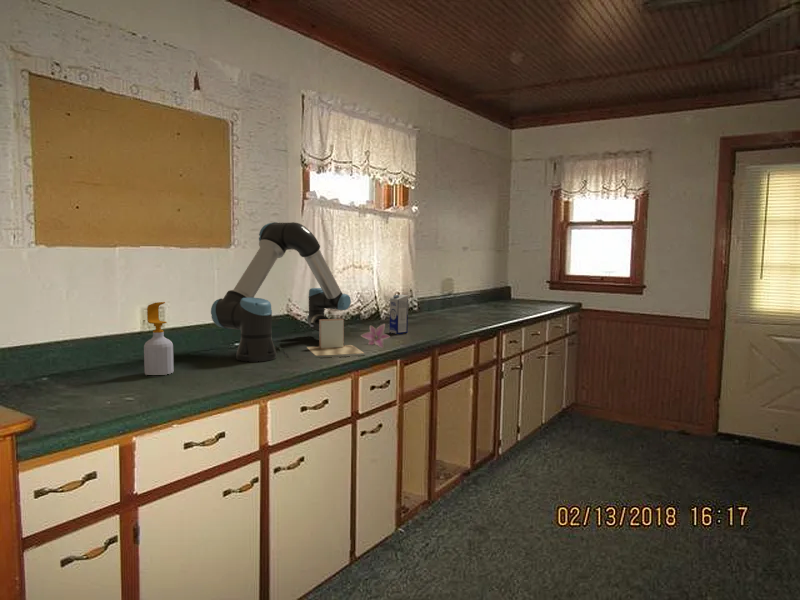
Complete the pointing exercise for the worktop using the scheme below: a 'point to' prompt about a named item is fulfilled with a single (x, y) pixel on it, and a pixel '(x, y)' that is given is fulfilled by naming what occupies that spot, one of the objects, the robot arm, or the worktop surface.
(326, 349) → the board
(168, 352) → the soap bottle
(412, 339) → the worktop surface
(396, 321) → the milk carton
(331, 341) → the tile
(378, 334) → the lily
